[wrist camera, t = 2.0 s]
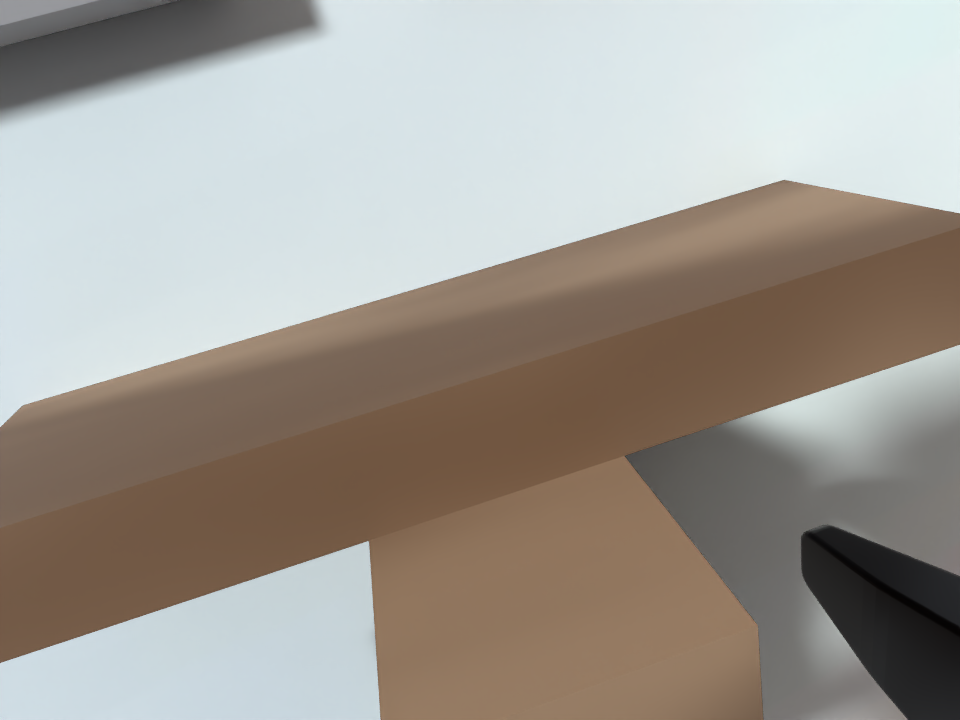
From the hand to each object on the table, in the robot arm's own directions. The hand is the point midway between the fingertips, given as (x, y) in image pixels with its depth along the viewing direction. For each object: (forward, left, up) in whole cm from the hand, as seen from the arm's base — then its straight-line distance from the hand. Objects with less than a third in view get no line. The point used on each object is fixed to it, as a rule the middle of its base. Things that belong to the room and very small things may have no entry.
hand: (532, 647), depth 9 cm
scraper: (0, 0, -3) cm, 3 cm away
